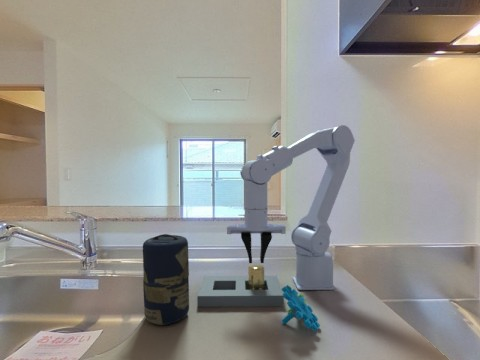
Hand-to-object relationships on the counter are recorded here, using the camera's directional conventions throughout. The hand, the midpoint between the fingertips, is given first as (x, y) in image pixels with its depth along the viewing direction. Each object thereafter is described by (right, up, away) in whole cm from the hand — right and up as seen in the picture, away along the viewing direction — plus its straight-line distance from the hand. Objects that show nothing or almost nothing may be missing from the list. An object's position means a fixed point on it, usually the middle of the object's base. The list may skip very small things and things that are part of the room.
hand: (256, 261), depth 70 cm
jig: (-4, -8, 0) cm, 9 cm away
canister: (-20, -9, -10) cm, 24 cm away
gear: (+8, -9, -13) cm, 18 cm away
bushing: (0, -8, 0) cm, 8 cm away
